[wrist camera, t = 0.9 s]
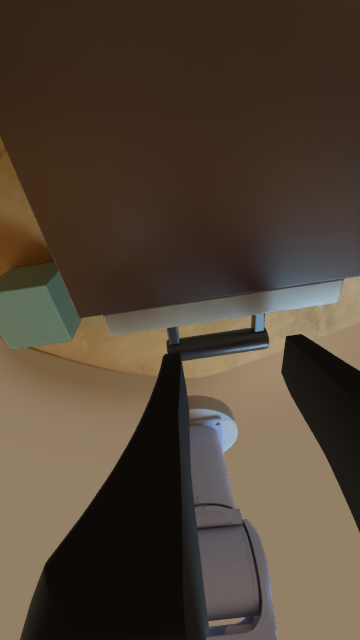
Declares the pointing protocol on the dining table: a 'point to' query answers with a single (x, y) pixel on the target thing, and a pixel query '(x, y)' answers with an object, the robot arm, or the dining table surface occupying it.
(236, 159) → the cabinet
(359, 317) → the dining table surface
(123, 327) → the drawer
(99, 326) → the dining table surface
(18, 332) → the block
